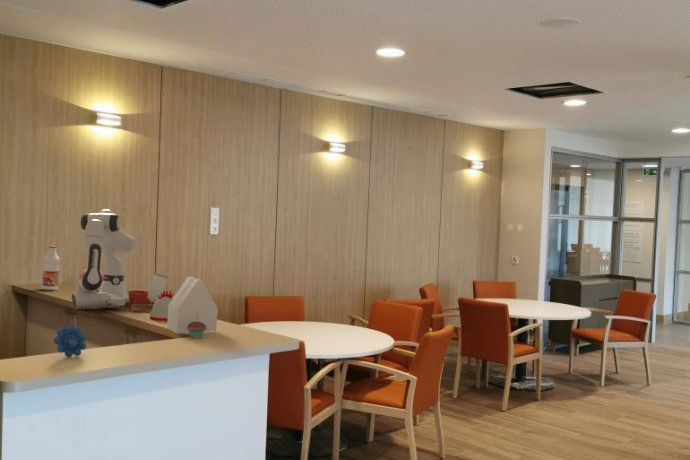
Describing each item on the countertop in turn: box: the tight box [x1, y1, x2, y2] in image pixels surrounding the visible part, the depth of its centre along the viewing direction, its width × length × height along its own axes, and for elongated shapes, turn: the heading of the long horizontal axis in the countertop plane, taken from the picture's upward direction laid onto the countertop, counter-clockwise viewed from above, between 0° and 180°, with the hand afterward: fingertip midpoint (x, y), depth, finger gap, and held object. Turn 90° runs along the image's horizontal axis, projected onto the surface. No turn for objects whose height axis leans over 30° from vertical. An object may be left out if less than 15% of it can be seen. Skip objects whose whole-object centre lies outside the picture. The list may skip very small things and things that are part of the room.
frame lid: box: [147, 272, 168, 302], centre depth 387 cm, size 21×15×1 cm
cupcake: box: [187, 312, 206, 338], centre depth 308 cm, size 9×8×12 cm
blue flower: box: [53, 324, 87, 358], centre depth 250 cm, size 12×7×12 cm, turn 125°
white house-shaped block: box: [166, 276, 219, 335], centre depth 325 cm, size 19×15×25 cm
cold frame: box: [120, 297, 156, 313], centre depth 382 cm, size 23×16×5 cm
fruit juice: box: [41, 245, 61, 291], centre depth 440 cm, size 9×9×28 cm
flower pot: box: [128, 290, 149, 309], centre depth 382 cm, size 11×11×10 cm
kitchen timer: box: [149, 290, 175, 322], centre depth 353 cm, size 14×14×15 cm
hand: (129, 299), depth 379 cm, fingers closed, pressing on flower pot
